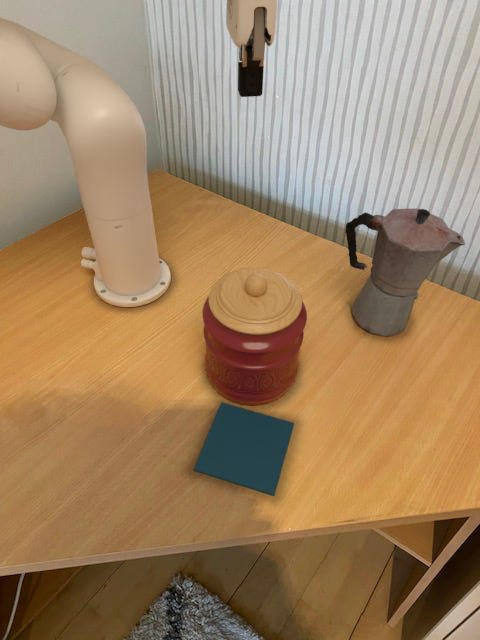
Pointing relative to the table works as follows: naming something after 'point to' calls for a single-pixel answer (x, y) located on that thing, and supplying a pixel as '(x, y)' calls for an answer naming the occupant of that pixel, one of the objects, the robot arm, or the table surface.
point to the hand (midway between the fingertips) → (250, 93)
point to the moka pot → (397, 265)
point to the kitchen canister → (253, 335)
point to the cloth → (245, 448)
